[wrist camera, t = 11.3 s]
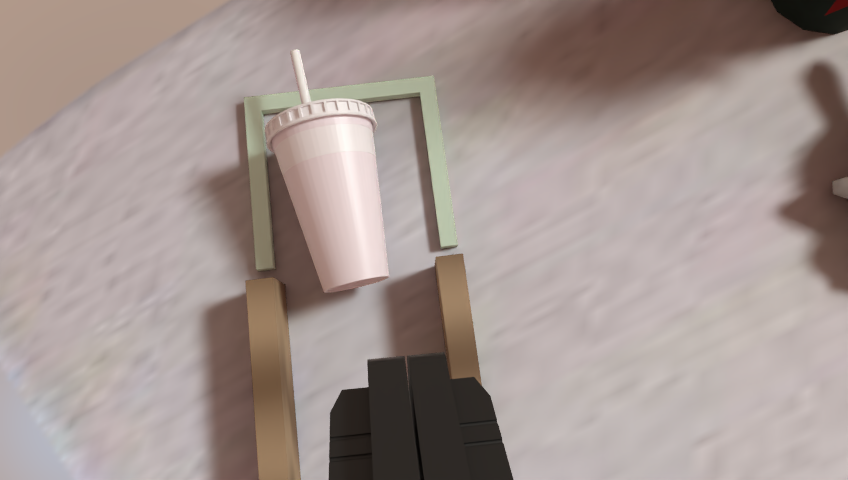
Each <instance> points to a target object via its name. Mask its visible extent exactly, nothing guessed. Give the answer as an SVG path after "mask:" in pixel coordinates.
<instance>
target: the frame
mask: <svg viewBox="0 0 848 480" xmlns="http://www.w3.org/2000/svg"><path fill="white" fill-rule="evenodd" d="M309 95H310V99H311V101H316V100H322V99H331V98H346V99H354V100H359V101H362V102H365V103H366V102H375V101H383V100H392V99H401V98H409V97H418V96H420V100H421V107H422V115H423V122H424V129H425V137H426V144H427V151H428V159H429V166H430V173H431V181H432V188H433V195H434V203H435V210H436V218H437V225H438V232H439V240H440V247H441V249H442V248H451V247H457V245H458V243H457V236H456V229H455V222H454V215H453V208H452V201H451V194H450V187H449V180H448V173H447V166H446V159H445V152H444V145H443V138H442V131H441V123H440V116H439V109H438V102H437V95H436V88H435V81H434V76H427V77H418V78H409V79H400V80H392V81H383V82H374V83H366V84H357V85H348V86H340V87H331V88H322V89H313V90H309ZM300 104H302V103H301V99H300V94H299V91H296V92H287V93H279V94H270V95H261V96H252V97H244V108H245V122H246V136H247V150H248V164H249V178H250V192H251V206H252V221H253V235H254V249H255V263H256V270H257V271H265V270H273V269H275V258H274V245H273V232H272V220H271V207H270V194H269V181H268V168H267V155H266V142H265V129H264V117H263V114H271V113H280V112H283V111H285V110H287V109H289V108H291V107H294V106H297V105H300Z"/></svg>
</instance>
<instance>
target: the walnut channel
mask: <svg viewBox="0 0 848 480" xmlns="http://www.w3.org/2000/svg"><path fill="white" fill-rule="evenodd" d="M435 272H436V280H437V287H438V295H439V302H440V310H441V318H442V325H443V333H444V340H445V348H446V355H447V363H448V370H449V375H450V379H457V378H467V377H475V379H476V380H477V381H478V382H479V383H480V384H481V377H480V370H479V363H478V356H477V349H476V342H475V335H474V328H473V321H472V314H471V307H470V300H469V293H468V286H467V279H466V272H465V265H464V259H463V254H456V255H448V256H440V257H436V260H435ZM246 295H247V310H248V325H249V340H250V355H251V370H252V385H253V399H254V414H255V429H256V444H257V459H258V474H259V480H301V477H300V465H299V452H298V440H297V428H296V415H295V403H294V390H293V378H292V365H291V353H290V341H289V328H288V316H287V303H286V291H285V284H283V283H282V282H280V281H278V280H277V279H275V278H273V277H271V278H263V279H255V280H247V281H246ZM481 386H482V384H481Z"/></svg>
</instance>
